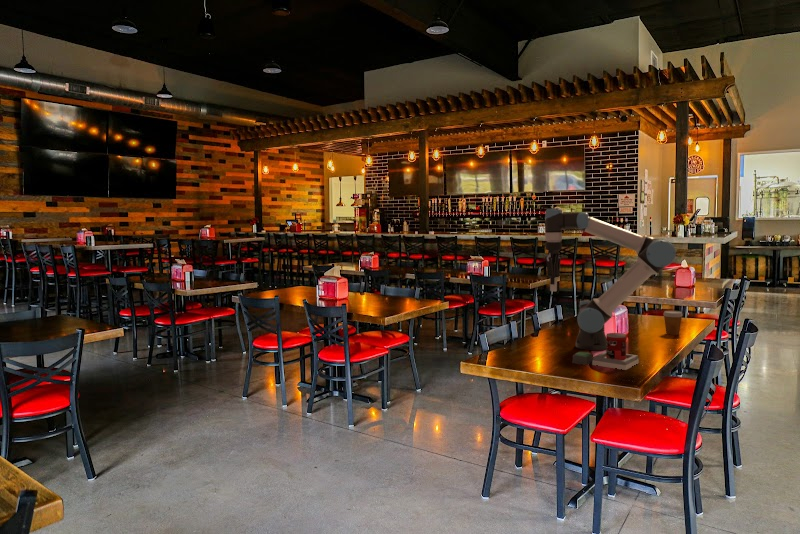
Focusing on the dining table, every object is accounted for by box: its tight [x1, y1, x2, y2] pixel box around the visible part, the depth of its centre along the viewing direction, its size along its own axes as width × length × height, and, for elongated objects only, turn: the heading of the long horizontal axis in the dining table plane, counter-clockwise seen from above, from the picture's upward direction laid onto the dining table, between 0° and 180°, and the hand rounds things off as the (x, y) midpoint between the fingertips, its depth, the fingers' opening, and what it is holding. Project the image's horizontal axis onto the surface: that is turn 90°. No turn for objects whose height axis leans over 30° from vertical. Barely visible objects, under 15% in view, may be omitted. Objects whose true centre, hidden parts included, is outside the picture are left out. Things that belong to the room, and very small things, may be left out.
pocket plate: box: [591, 350, 640, 371], centre depth 249 cm, size 14×14×4 cm
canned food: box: [605, 332, 627, 360], centre depth 248 cm, size 8×8×11 cm
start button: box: [574, 351, 592, 357], centre depth 253 cm, size 5×5×3 cm
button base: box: [571, 353, 594, 366], centre depth 253 cm, size 7×7×4 cm
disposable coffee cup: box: [662, 310, 684, 336], centre depth 309 cm, size 10×10×12 cm
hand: (553, 291), depth 273 cm, fingers closed
